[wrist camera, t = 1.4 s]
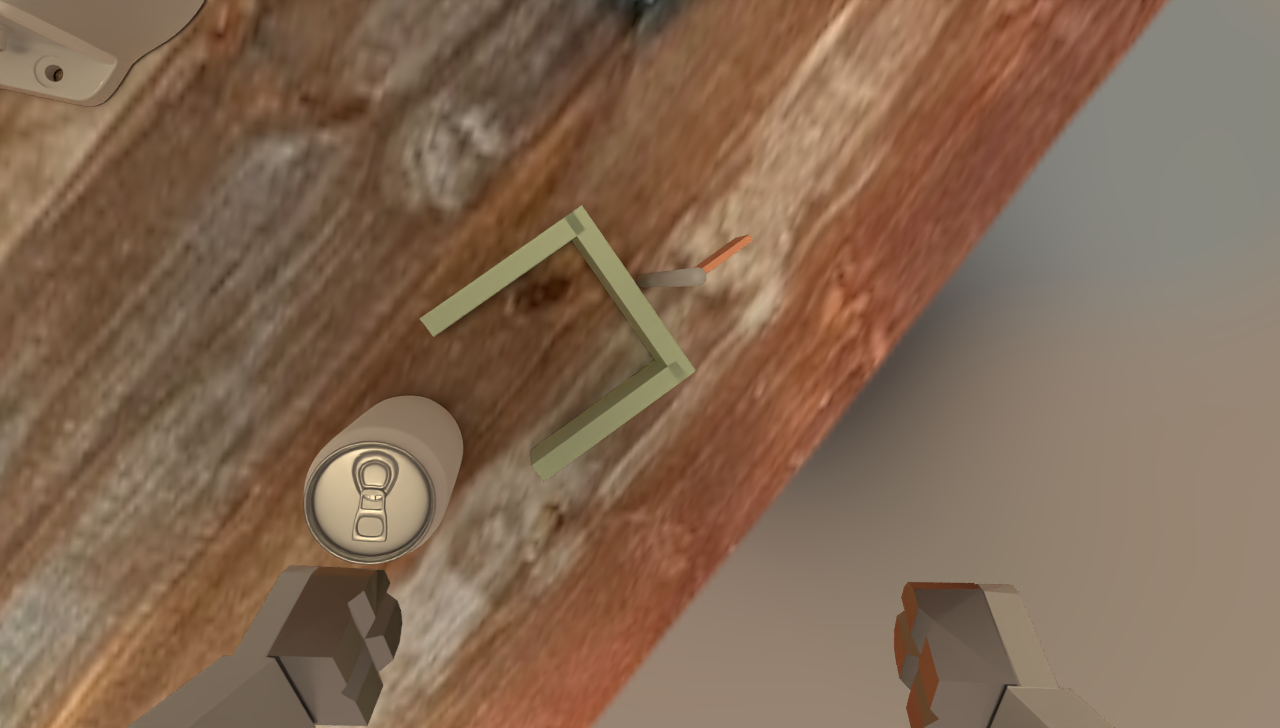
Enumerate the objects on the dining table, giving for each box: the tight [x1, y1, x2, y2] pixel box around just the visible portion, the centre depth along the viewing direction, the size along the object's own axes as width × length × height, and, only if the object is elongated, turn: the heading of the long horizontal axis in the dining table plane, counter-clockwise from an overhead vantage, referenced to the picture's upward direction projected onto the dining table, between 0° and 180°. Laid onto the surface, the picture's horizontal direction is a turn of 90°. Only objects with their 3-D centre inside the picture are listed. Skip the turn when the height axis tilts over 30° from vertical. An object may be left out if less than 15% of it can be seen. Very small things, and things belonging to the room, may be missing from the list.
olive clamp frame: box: [420, 206, 753, 482], centre depth 38 cm, size 15×11×14 cm
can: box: [303, 395, 463, 565], centre depth 38 cm, size 6×6×12 cm
